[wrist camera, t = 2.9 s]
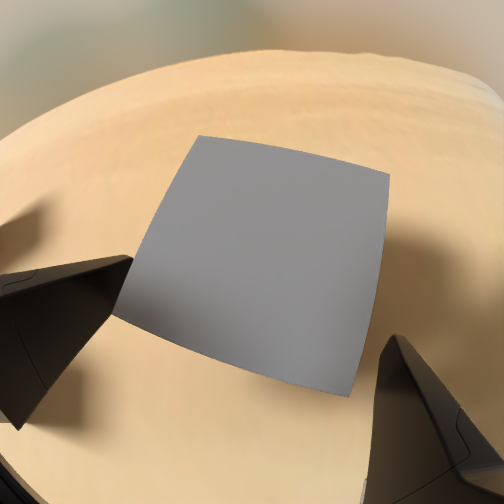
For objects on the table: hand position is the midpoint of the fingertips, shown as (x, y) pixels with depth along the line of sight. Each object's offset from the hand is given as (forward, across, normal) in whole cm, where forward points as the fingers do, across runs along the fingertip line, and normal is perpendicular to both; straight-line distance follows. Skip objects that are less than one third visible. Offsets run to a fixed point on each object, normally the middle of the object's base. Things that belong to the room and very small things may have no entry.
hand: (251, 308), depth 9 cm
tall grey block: (+7, 0, +5) cm, 9 cm away
